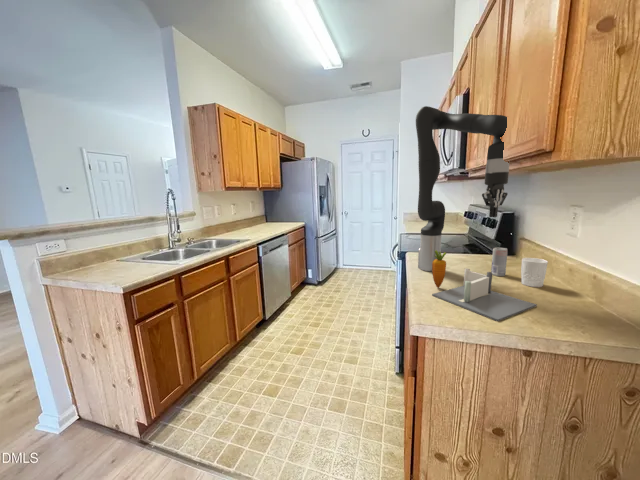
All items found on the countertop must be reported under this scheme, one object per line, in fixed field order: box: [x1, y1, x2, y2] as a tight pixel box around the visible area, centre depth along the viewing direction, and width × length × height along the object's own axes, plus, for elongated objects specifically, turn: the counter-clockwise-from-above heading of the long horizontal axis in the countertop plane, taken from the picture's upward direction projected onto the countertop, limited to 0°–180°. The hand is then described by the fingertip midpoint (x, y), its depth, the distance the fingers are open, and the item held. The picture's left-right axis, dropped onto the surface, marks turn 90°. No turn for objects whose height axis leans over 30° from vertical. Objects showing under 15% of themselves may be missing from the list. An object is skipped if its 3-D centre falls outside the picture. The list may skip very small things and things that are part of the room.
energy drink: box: [490, 246, 509, 277], centre depth 117 cm, size 5×5×12 cm
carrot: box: [431, 250, 447, 289], centre depth 102 cm, size 5×5×15 cm
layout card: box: [431, 285, 538, 322], centre depth 90 cm, size 23×21×1 cm
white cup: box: [520, 257, 549, 288], centre depth 103 cm, size 8×8×10 cm
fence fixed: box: [462, 267, 493, 294], centre depth 98 cm, size 10×2×8 cm, turn 26°
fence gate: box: [464, 277, 489, 302], centre depth 90 cm, size 13×2×7 cm, turn 121°
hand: (493, 216), depth 103 cm, fingers closed
